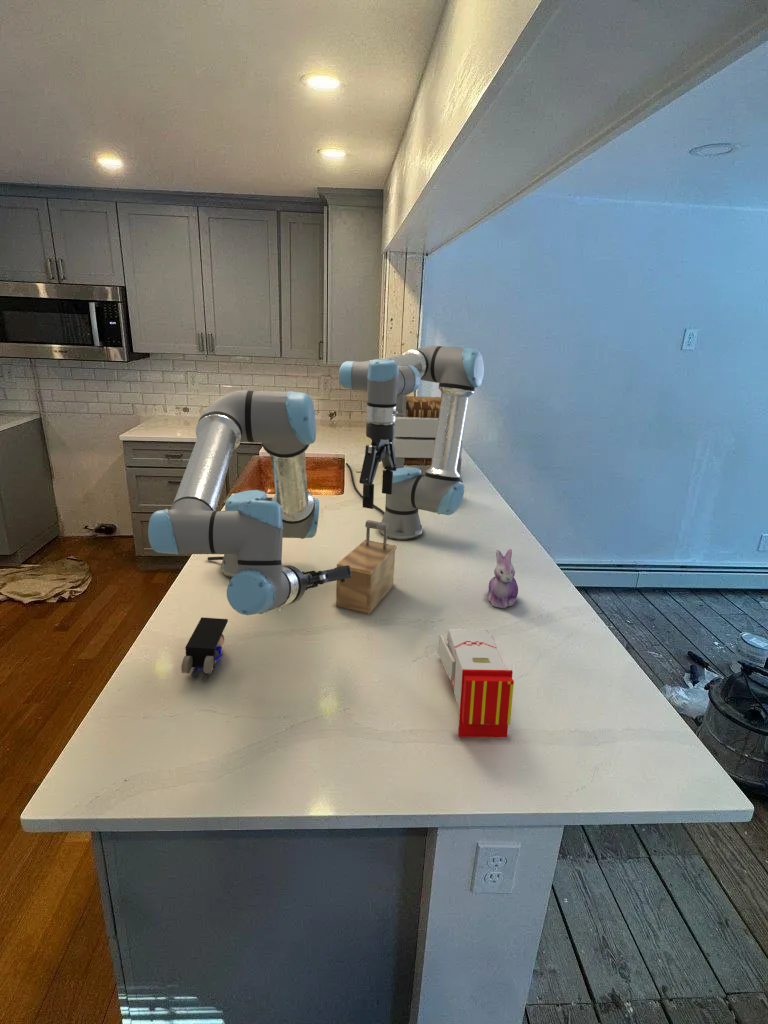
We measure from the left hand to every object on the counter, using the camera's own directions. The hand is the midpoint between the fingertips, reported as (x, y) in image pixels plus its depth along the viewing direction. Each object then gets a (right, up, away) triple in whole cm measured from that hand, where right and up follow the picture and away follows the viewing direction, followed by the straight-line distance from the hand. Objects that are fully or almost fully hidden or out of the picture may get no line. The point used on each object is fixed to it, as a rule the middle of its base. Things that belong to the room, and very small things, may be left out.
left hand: (318, 577), depth 129 cm
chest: (+10, -8, +28) cm, 30 cm away
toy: (+33, -23, -10) cm, 41 cm away
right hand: (+13, +18, +24) cm, 33 cm away
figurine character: (-24, -18, -5) cm, 30 cm away
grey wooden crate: (+32, +34, +146) cm, 154 cm away
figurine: (+48, -10, +28) cm, 56 cm away
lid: (+11, +2, +24) cm, 27 cm away
